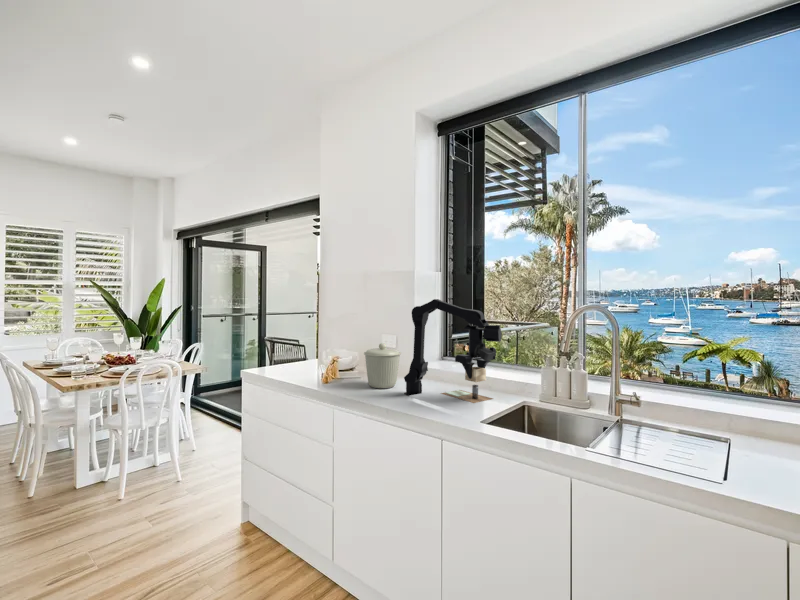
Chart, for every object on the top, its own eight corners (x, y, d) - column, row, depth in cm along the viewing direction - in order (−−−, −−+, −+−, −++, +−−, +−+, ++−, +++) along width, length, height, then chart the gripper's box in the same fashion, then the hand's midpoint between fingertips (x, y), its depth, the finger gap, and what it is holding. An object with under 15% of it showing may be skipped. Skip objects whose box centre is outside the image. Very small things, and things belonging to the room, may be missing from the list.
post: (475, 399, 175) (475, 386, 175) (471, 398, 177) (471, 385, 177) (479, 398, 176) (479, 385, 176) (475, 397, 178) (475, 384, 178)
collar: (475, 382, 172) (475, 370, 172) (465, 379, 177) (465, 368, 177) (485, 380, 176) (485, 368, 176) (475, 378, 181) (475, 366, 181)
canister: (388, 392, 193) (388, 346, 193) (356, 387, 202) (356, 343, 202) (407, 385, 209) (407, 342, 208) (376, 381, 218) (376, 340, 217)
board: (473, 406, 169) (474, 402, 169) (440, 396, 185) (440, 392, 185) (493, 402, 176) (494, 398, 176) (459, 393, 192) (459, 389, 192)
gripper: (474, 343, 164) (474, 383, 165) (505, 340, 175) (505, 378, 176) (454, 341, 173) (454, 379, 173) (485, 338, 184) (485, 374, 185)
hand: (475, 377), depth 177 cm, fingers closed on collar, 6 cm apart
